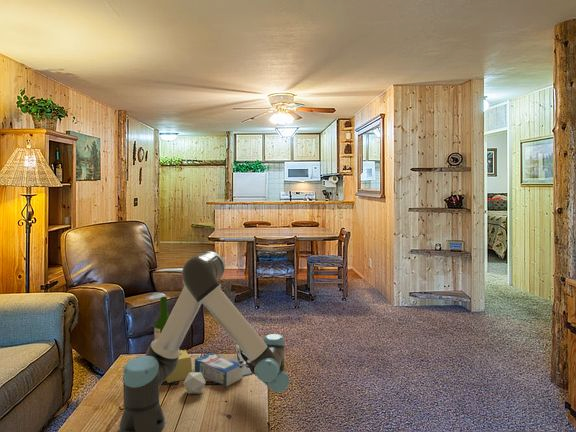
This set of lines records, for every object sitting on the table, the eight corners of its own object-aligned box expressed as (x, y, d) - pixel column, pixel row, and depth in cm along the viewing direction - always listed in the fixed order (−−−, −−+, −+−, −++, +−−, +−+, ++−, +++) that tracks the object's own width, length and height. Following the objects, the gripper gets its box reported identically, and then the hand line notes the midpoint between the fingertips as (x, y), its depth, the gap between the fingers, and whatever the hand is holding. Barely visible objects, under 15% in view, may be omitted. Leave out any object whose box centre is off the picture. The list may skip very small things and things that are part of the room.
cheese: (163, 374, 194) (162, 352, 193) (187, 369, 199) (186, 348, 198) (167, 383, 185) (166, 361, 184) (192, 379, 189) (191, 356, 188)
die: (194, 401, 171) (208, 378, 173) (176, 388, 172) (190, 367, 175) (198, 398, 179) (211, 377, 181) (181, 387, 180) (194, 366, 183)
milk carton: (226, 372, 181) (194, 359, 193) (226, 386, 182) (194, 372, 194) (242, 364, 189) (211, 352, 201) (242, 378, 190) (211, 365, 202)
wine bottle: (151, 366, 202) (149, 298, 199) (167, 360, 209) (165, 294, 207) (163, 371, 196) (161, 301, 194) (178, 365, 204) (177, 297, 201)
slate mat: (214, 383, 185) (214, 381, 185) (199, 366, 202) (199, 365, 202) (253, 373, 194) (253, 372, 194) (235, 358, 211) (235, 357, 211)
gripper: (247, 381, 164) (223, 359, 184) (277, 373, 171) (251, 353, 191) (246, 362, 164) (223, 342, 184) (277, 355, 170) (251, 337, 190)
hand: (237, 348), depth 187 cm, fingers closed
